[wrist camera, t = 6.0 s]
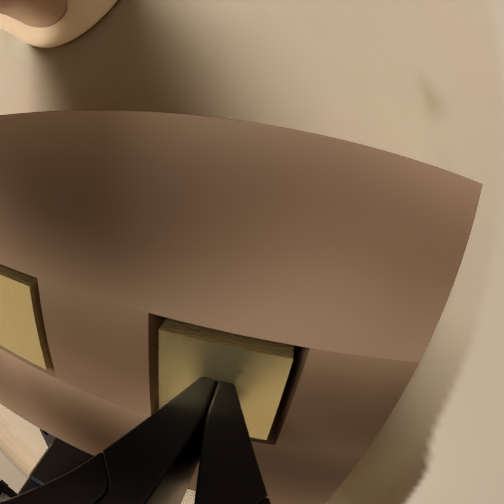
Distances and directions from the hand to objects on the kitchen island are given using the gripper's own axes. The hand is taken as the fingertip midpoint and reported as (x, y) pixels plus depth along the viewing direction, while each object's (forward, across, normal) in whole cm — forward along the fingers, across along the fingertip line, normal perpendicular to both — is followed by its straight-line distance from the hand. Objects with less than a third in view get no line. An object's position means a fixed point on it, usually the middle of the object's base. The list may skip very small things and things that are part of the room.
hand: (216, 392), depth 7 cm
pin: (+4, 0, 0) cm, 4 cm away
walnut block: (+4, +4, 0) cm, 5 cm away
